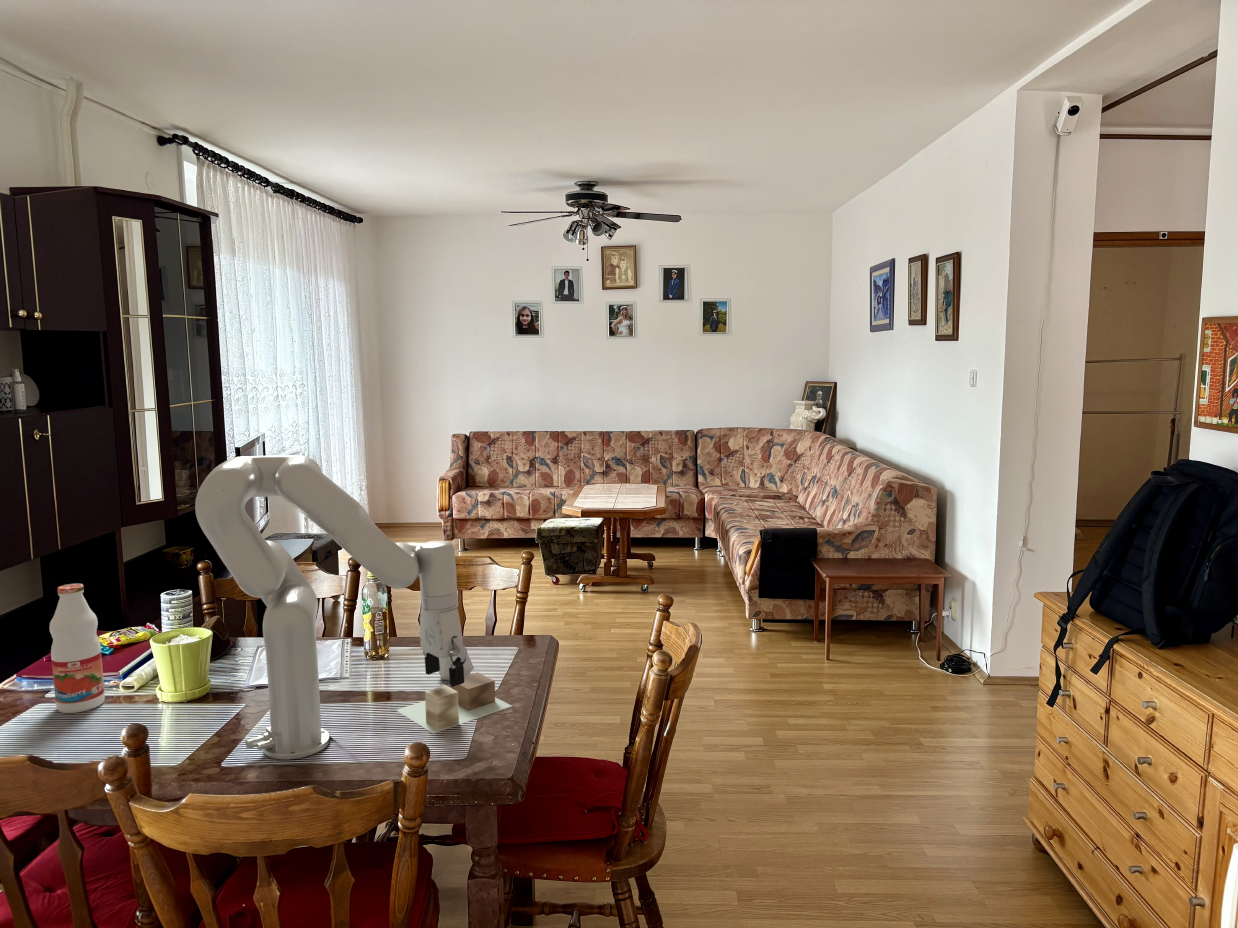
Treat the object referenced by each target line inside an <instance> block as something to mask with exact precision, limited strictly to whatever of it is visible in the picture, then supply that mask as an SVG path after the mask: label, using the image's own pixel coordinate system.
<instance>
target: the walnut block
mask: <svg viewBox="0 0 1238 928" xmlns="http://www.w3.org/2000/svg"><path fill="white" fill-rule="evenodd" d="M450 688H452V689H454V690H456V691H457V692H458V705H459V706H461V707H463V708H465V709H466V710H468V711H470V710H473V709H476V708H479V707H482V706H485V705H488V704H491V703H493V702H495V697H496V680H494V679H492V678H490V677H488V676H485V675H484V674H482V673H480V672H478V671H477V672H474V673H470V674H469V675H467V676H464V683H463V684H460V685H457V686H454V687H451V686H450Z"/></svg>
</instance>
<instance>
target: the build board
mask: <svg viewBox="0 0 1238 928" xmlns="http://www.w3.org/2000/svg"><path fill="white" fill-rule="evenodd" d="M458 706H459V705H458ZM509 708H512V705H511V704H509V703H507V701H506V702H505V701H503V700H501V699H500V698H497V697H496V696H495V702H493V703H491V704H488V705H485V706H482V707H479V708H476V709H473V710H470V711H468V710H466V709H465V708H463V707H461V706H459V724H456V725H453V726H450V727H447V728H444V729H441V730H437V729H435V728H433V727H432V726H430V725H429V724H427V723H426V705H425V700H423V701H420V702H418V703H414V704H410V705H408V706H405V707H401V708H398V709H395V711H396V712H398V713H399V714H401V715H403V716H405V717H406V718H407V719H409V720H411V721H412V722H414V723H415V724H417V725H419V726H420V727H422V728H423V729H425V730H427V731H428V732H429V733H431V734H433V735H434V734H437V733H439V732H443V731H445V730H448V729H451V728H454V727H457V726H459V725H462V724H465V723H468V722H472V721H474V720H477V719H479V718H483V717H485V716H488V715H491V714H494V713H497V712H500V711H502V710H505V709H509Z"/></svg>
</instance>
